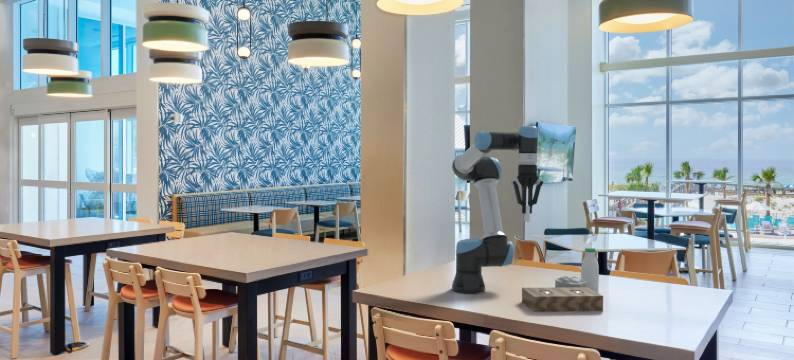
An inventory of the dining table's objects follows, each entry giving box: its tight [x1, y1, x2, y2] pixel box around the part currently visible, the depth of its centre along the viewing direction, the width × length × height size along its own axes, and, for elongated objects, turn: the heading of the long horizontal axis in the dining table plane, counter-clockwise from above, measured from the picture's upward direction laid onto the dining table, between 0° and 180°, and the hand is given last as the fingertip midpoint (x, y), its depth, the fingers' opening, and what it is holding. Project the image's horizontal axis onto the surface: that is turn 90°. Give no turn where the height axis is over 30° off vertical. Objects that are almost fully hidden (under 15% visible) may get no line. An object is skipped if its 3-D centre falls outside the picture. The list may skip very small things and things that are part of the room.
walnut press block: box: [521, 287, 604, 313], centre depth 234 cm, size 28×16×6 cm, turn 94°
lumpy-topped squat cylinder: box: [554, 275, 587, 288], centre depth 251 cm, size 10×13×9 cm
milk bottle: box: [580, 247, 600, 293], centre depth 261 cm, size 8×8×20 cm
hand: (526, 221), depth 235 cm, fingers closed
